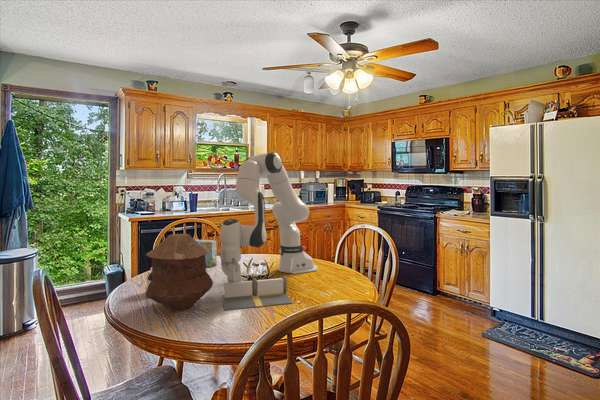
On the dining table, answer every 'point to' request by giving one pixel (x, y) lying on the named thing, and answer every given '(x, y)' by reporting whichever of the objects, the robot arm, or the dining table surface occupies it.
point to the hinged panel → (238, 289)
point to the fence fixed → (269, 286)
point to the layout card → (255, 301)
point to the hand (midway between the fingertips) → (231, 286)
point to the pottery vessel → (178, 273)
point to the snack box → (209, 251)
